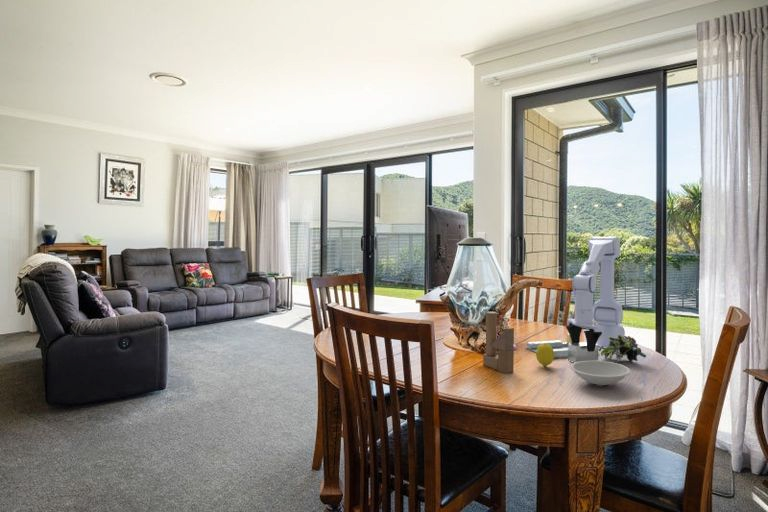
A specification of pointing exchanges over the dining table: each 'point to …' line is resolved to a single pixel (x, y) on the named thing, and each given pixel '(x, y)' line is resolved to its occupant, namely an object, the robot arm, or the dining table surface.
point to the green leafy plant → (622, 348)
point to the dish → (600, 371)
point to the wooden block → (498, 346)
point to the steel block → (581, 352)
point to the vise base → (557, 351)
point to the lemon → (545, 354)
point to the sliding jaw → (549, 343)
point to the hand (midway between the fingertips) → (583, 348)
